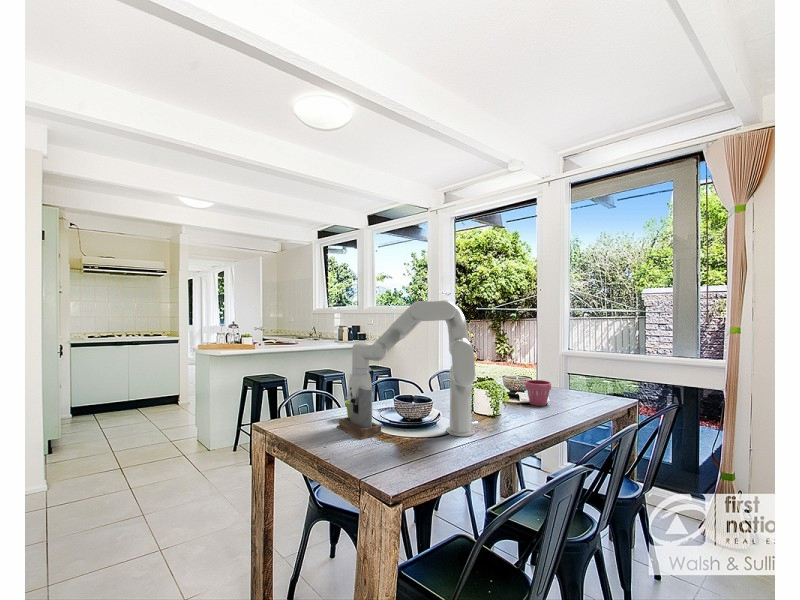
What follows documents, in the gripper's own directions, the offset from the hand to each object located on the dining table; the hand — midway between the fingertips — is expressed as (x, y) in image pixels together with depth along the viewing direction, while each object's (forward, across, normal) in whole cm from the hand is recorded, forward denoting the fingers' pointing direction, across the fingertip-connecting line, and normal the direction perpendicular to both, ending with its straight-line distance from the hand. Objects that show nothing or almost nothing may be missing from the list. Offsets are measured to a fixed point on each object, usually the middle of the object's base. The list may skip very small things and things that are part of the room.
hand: (360, 411), depth 190 cm
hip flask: (+6, 0, 0) cm, 6 cm away
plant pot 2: (+9, -111, +15) cm, 112 cm away
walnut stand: (+9, 0, 0) cm, 9 cm away
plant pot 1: (+9, -8, -18) cm, 22 cm away
